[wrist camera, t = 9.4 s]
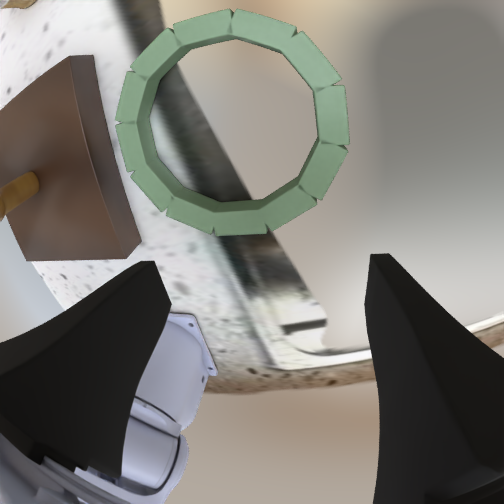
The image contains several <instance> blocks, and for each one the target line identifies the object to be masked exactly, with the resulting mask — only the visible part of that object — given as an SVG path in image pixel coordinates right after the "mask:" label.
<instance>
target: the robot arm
mask: <svg viewBox="0 0 504 504" xmlns="http://www.w3.org/2000/svg"><path fill="white" fill-rule="evenodd" d="M171 305H172V303H171V301H170V299H169V296H168V294H167V292H166V289H165V287H164V284H163V282H162V279H161V277H160V274H159V272H158V269H157V266H156V264H155V261H140V262H138V263H136V264H134V265H133V266H131V267H129V268H128V269H126V270H124V271H123V272H121V273H120V274H118V275H117V276H115V277H114V278H112V279H111V280H110V281H108V282H107V283H105V284H104V285H102V286H101V287H100V288H98V289H97V290H95V291H94V292H92V293H91V294H89V295H88V296H87V297H85V298H84V299H82V300H81V301H79V302H78V303H76V304H75V305H73V306H72V307H70V308H69V309H67V310H66V311H64V312H62V313H61V314H59V315H58V316H56V317H54V318H53V319H51V320H49V321H47V322H46V323H44V324H42V325H40V326H38V327H36V328H34V329H32V330H30V331H28V332H26V333H24V334H21V335H19V336H17V337H14V338H12V339H9V340H7V341H4V342H1V343H0V504H164V503H165V501H166V498H167V497H168V495H169V493H170V492H171V491H172V489H174V488H175V487H176V485H177V484H178V483H179V481H180V479H181V477H182V475H183V473H184V471H185V468H186V465H187V461H188V455H189V447H188V444H187V442H186V439H185V437H184V436H183V435H181V434H180V432H181V430H183V429H185V428H186V427H188V426H189V425H190V424H191V423H192V421H193V420H194V418H195V416H196V413H197V410H198V406H199V404H200V401H201V398H202V395H203V392H204V388H205V385H206V382H207V379H208V376H209V375H213V376H216V375H217V373H218V371H217V369H216V366H215V364H214V362H213V359H212V357H211V355H210V352H209V350H208V348H207V345H206V343H205V341H204V338H203V336H202V333H201V331H200V328H199V326H198V323H197V321H196V319H195V317H194V316H192V315H187V314H172V313H169V312H170V308H171ZM364 305H365V316H366V326H367V334H368V339H369V344H370V349H371V354H372V359H373V364H374V370H375V376H376V381H377V387H378V395H379V411H380V437H379V458H378V471H377V480H376V487H375V493H374V500H373V504H504V358H503V357H502V356H500V355H499V354H498V353H496V352H495V351H493V350H492V349H491V348H489V347H488V346H487V345H486V344H484V343H483V342H482V341H480V340H479V339H478V338H477V337H476V336H474V335H473V334H472V333H471V332H470V331H469V330H467V329H466V328H465V327H464V326H463V325H461V324H460V323H459V322H458V321H457V320H456V319H455V318H453V317H452V316H451V315H450V314H449V313H448V312H447V311H446V310H445V309H444V308H443V307H442V306H441V305H440V304H439V303H438V302H437V301H436V300H435V299H434V298H433V297H431V295H429V293H428V292H426V291H425V289H423V287H421V285H420V284H418V282H417V281H416V280H415V279H414V278H413V277H412V276H411V275H410V274H409V273H408V272H407V271H406V270H405V269H404V268H403V267H402V266H401V265H400V264H399V263H398V262H397V261H396V260H395V259H394V258H393V257H392V256H391V255H390V254H389V253H387V254H371V255H370V264H369V272H368V282H367V289H366V296H365V303H364Z"/></svg>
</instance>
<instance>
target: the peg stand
mask: <svg viewBox="0 0 504 504" xmlns="http://www.w3.org/2000/svg"><path fill="white" fill-rule="evenodd" d="M5 215H6V217H7V219H8V221H9V224H10V226H11V229H12V231H13V233H14V235H15V237H16V240H17V242H18V244H19V246H20V248H21V250H22V253H23V255H24V257H25V259H26V261H64V260H106V259H127V257H128V256H129V255H130V254H131V253H132V252H133V250H134V249H135V248H136V247H137V246H138V245H139V244H140V243H141V238H140V235H139V233H138V230H137V227H136V224H135V221H134V218H133V215H132V212H131V209H130V206H129V203H128V200H127V197H126V194H125V191H124V188H123V184H122V181H121V178H120V174H119V171H118V167H117V164H116V160H115V157H114V153H113V149H112V145H111V142H110V138H109V134H108V129H107V125H106V121H105V117H104V112H103V107H102V103H101V98H100V93H99V88H98V82H97V77H96V71H95V64H94V58H93V55H76V56H68V57H67V58H65V59H64V60H62V61H61V62H59V63H58V64H56V65H55V66H54V67H52V68H51V69H49V70H48V71H47V72H45V73H44V74H43V75H41V76H40V77H39V78H37V79H36V80H35V81H34V82H32V83H31V84H30V85H29V86H27V87H26V88H25V89H24V90H23V91H21V92H20V93H19V94H18V95H17V96H16V97H14V98H13V99H12V100H11V101H10V102H9V103H8V104H7V105H6V106H5V107H4V108H3V109H1V110H0V221H2V219H3V218H4V216H5Z"/></svg>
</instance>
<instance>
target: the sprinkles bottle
mask: <svg viewBox="0 0 504 504" xmlns="http://www.w3.org/2000/svg"><path fill="white" fill-rule="evenodd" d="M35 1H36V0H0V9H2V8H20V9H24V8H27V7H29V6H30V5H32V4H33V3H34V2H35Z"/></svg>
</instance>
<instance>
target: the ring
mask: <svg viewBox="0 0 504 504" xmlns="http://www.w3.org/2000/svg"><path fill="white" fill-rule="evenodd" d="M173 28H174V30H173V29H170V28H166V29H165V30H164V31H163V32H162V33H161V34H160V35H159V36H158V37H157V38H156V39H155V40H154V41H153V42H152V43H151V44H150V45H149V46H148V47H147V48H146V49H145V50H144V51H143V52H142V53H141V55H140V56H139V57H138V58H137V59H136V60H135V61H134V62H133V63H132V65H131V66H130V67H131V68H132V69H133V71H127V73H126V77H125V80H124V84H123V88H122V92H121V96H120V100H119V104H118V109H117V113H116V118H115V120H116V121H119V122H122V123H120V124H118V125H116V126H115V127H116V131H117V135H118V139H119V143H120V147H121V151H122V155H123V158H124V162H125V166H126V169H127V172H131V171H134V173H133V174H132V175H131V178H132V180H133V181H134V182H135V183H136V184H137V185H138V186H139V188H140V189H141V190H142V191H143V192H144V193H145V194H146V196H147V197H148V198H149V199H150V200H151V201H152V202H153V203H154V205H155V206H156V207H157V208H158V209H159V210H160V211H161V212H163V211H164V210H165V209H167V208H168V209H167V213H166V216H168V217H170V218H172V219H175V220H177V221H179V222H182V223H184V224H186V225H189V226H191V227H193V228H196V229H198V230H201V231H203V232H205V233H208V234H212V232H213V230H215V234H216V236H226V235H245V234H266V233H267V230H268V227H269V229H270V230H271V231H274V230H275V229H277V228H279V227H281V226H282V225H284V224H286V223H287V222H289V221H291V220H292V219H294V218H296V217H297V216H299V215H301V214H302V213H304V212H305V211H307V210H309V209H311V208H312V207H314V206H316V205H317V199H319V200H322V199H323V197H324V195H325V194H326V192H327V190H328V188H329V186H330V185H331V183H332V181H333V179H334V177H335V175H336V173H337V172H338V170H339V168H340V166H341V164H342V162H343V161H344V159H345V157H346V155H347V153H348V150H347V149H346V147H345V146H344V145H349V144H350V139H349V125H348V113H347V102H346V92H345V86H344V85H333V84H335V83H337V82H339V81H340V80H341V79H342V78H341V77H340V75H339V74H338V73H337V71H336V70H335V69H334V67H333V66H332V65H331V64H330V62H329V61H328V60H327V59H326V57H325V56H324V55H323V54H322V53H321V51H320V50H319V49H318V48H317V46H316V45H315V44H314V43H313V42H312V41H311V40H310V38H309V37H308V36H307V35H306V34H305V33H304V32H303V31H301V32H299V33H297V27H296V26H293V25H291V24H288V23H285V22H282V21H279V20H276V19H273V18H270V17H266V16H263V15H260V14H256V13H252V12H248V11H245V10H241V9H236V11H235V13H234V12H233V11H232V10H231V9H226V10H221V11H217V12H213V13H209V14H205V15H202V16H198V17H194V18H191V19H188V20H184V21H181V22H178V23H175V24H173ZM234 39H238V40H241V41H245V42H248V43H251V44H255V45H258V46H261V47H264V48H267V49H270V50H272V51H275V52H278V53H281V54H283V55H284V57H285V58H286V59H287V60H288V61H289V62H290V63H291V65H292V66H293V67H294V68H295V69H296V71H297V72H298V73H299V74H300V76H301V77H302V78H303V79H304V80H305V82H306V83H307V84H308V86H309V87H310V88H311V89H312V91H313V98H314V106H315V115H316V124H317V135H318V137H317V139H316V141H315V143H314V145H313V147H312V149H311V151H310V153H309V155H308V158H307V159H306V162H305V163H304V165H303V167H302V169H301V171H300V174H299V175H298V177H296V178H295V179H293V180H292V181H290V182H289V183H287V184H285V185H284V186H282V187H281V188H279V189H278V190H276V191H275V192H273V193H272V194H270V195H268V196H267V197H265V198H264V199H260V200H245V201H233V202H222V203H221V202H218V201H216V200H214V199H211V198H209V197H206V196H204V195H201V194H199V193H197V192H194V191H192V190H189V189H187V188H184V187H183V186H182V185H181V184H180V183H179V181H178V180H177V179H176V178H175V177H174V176H173V175H172V173H171V172H170V171H169V170H168V169H167V168H166V167H165V165H164V164H163V163H162V162H161V161H160V160H159V158H158V156H157V152H156V148H155V144H154V140H153V135H152V131H151V127H150V122H149V116H150V112H151V108H152V105H153V101H154V98H155V94H156V91H157V88H158V84H159V81H160V79H161V78H162V77H163V76H164V75H165V74H166V73H167V72H168V71H169V70H170V69H171V68H172V67H173V66H174V65H175V64H176V63H177V62H178V61H179V60H180V59H181V58H183V56H185V55H186V54H187V53H188V52H189V51H190V50H191V49H195V48H198V47H203V46H207V45H211V44H215V43H220V42H224V41H229V40H234Z"/></svg>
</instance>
